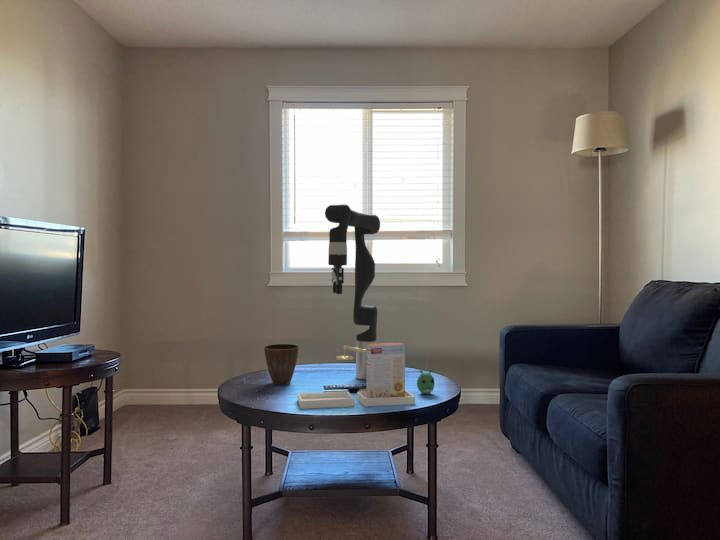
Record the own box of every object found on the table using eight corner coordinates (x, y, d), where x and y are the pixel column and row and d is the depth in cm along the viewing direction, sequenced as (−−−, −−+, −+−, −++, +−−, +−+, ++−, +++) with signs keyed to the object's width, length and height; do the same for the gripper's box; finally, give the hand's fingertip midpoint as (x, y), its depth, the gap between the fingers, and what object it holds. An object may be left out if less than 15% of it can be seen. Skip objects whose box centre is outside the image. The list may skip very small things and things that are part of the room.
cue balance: (334, 393, 209) (334, 344, 209) (397, 390, 215) (398, 343, 215) (337, 397, 202) (337, 347, 202) (402, 394, 208) (403, 345, 208)
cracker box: (399, 395, 203) (399, 341, 203) (405, 399, 197) (406, 344, 197) (365, 397, 199) (365, 343, 199) (370, 401, 193) (371, 345, 193)
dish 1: (297, 400, 197) (297, 393, 197) (348, 398, 202) (348, 391, 202) (300, 408, 186) (300, 401, 186) (354, 406, 190) (354, 398, 190)
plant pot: (274, 388, 215) (275, 350, 215) (257, 382, 227) (257, 345, 227) (305, 384, 225) (305, 347, 225) (286, 378, 236) (287, 343, 236)
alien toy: (420, 396, 205) (421, 371, 205) (414, 392, 213) (414, 367, 213) (437, 396, 207) (437, 371, 207) (430, 391, 214) (430, 367, 214)
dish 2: (357, 398, 201) (357, 391, 201) (405, 396, 206) (405, 389, 205) (363, 406, 190) (363, 399, 190) (415, 404, 194) (415, 396, 194)
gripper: (325, 253, 218) (325, 292, 218) (331, 253, 204) (331, 294, 204) (343, 254, 219) (343, 292, 219) (350, 253, 205) (349, 294, 205)
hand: (337, 293), depth 212 cm, fingers open, 8 cm apart
